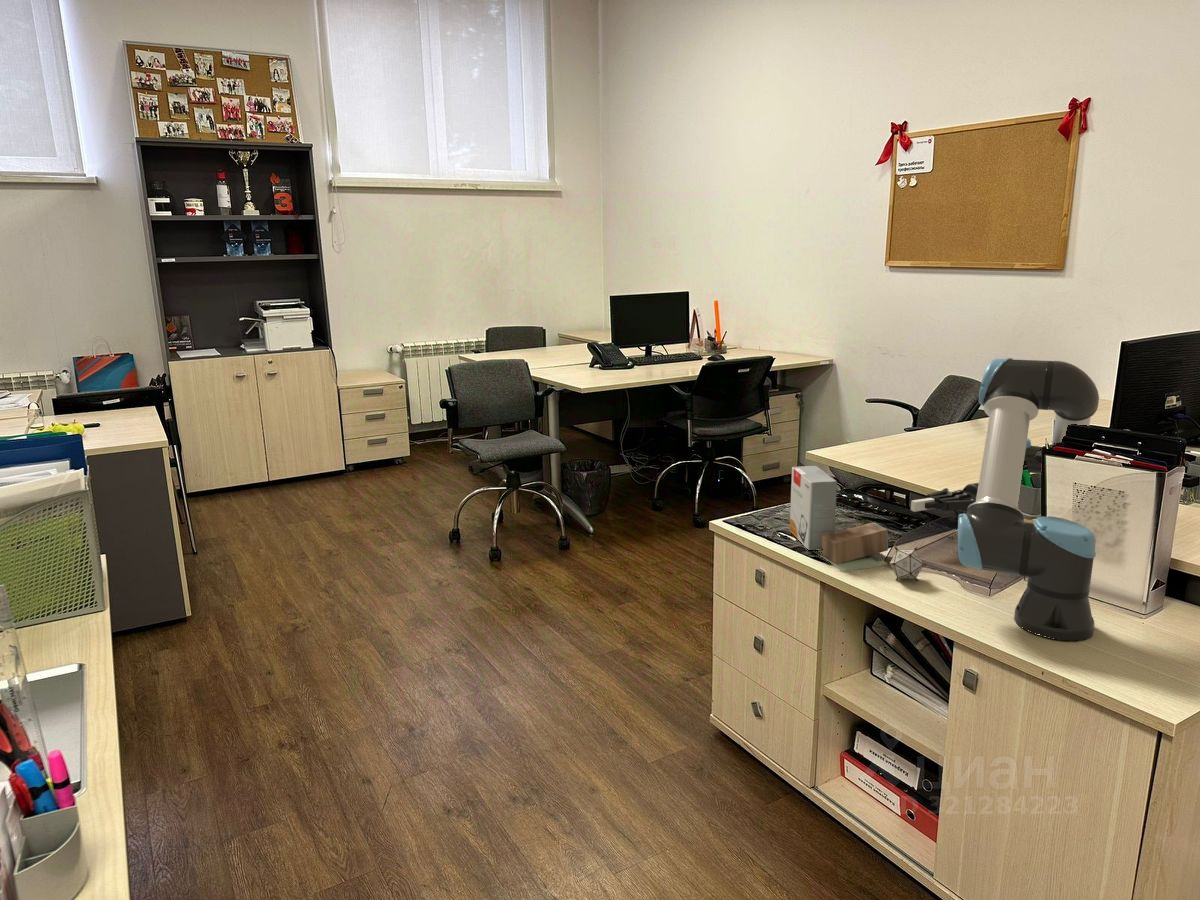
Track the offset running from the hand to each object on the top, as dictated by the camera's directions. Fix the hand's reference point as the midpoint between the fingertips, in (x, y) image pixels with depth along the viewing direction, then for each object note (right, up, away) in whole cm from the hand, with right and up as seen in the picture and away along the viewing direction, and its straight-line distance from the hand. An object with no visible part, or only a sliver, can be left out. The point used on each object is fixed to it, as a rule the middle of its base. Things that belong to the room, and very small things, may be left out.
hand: (912, 506), depth 217 cm
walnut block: (-9, -8, -2) cm, 12 cm away
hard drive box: (-25, -11, +10) cm, 29 cm away
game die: (-8, -17, -16) cm, 25 cm away
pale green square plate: (-18, -14, -3) cm, 23 cm away
